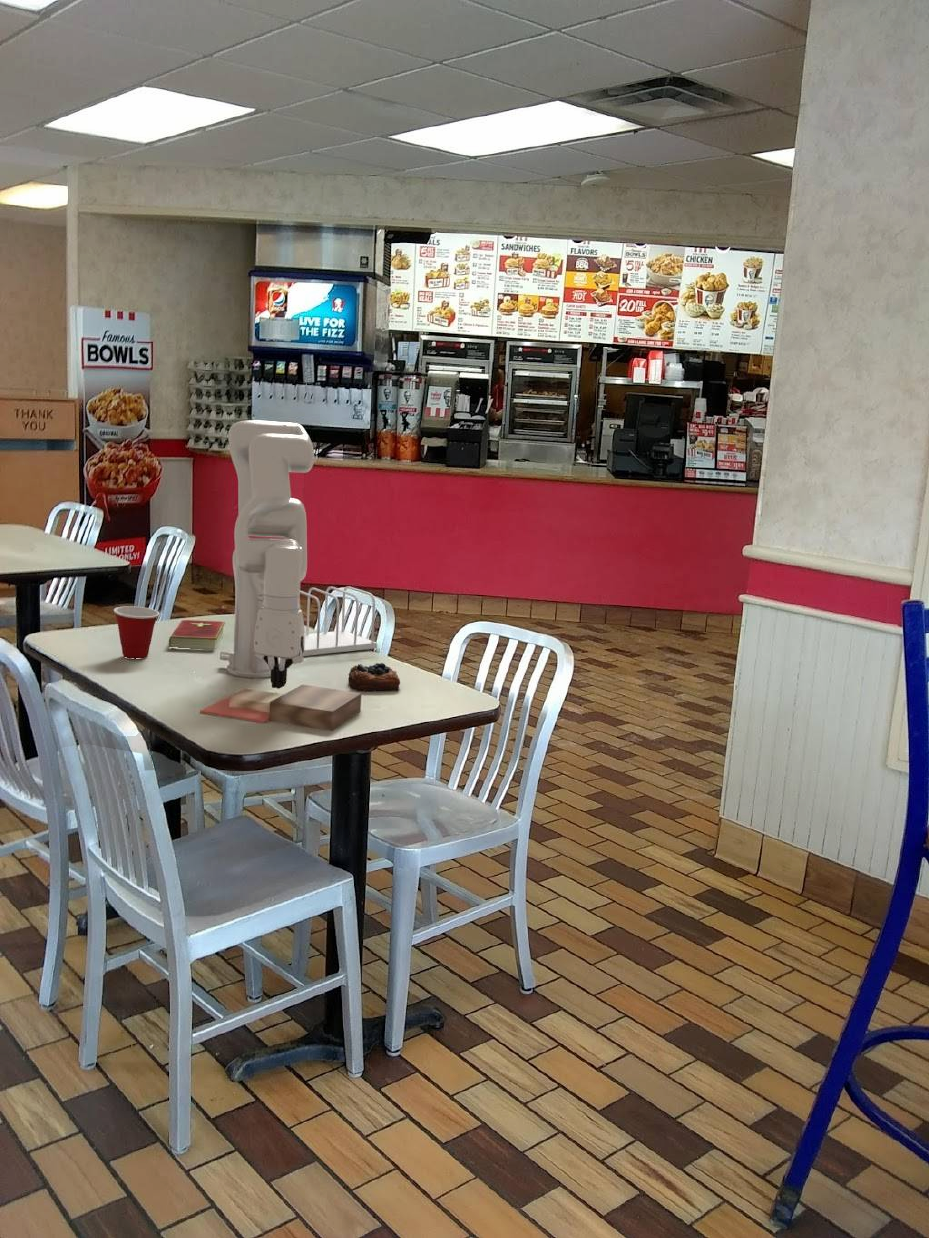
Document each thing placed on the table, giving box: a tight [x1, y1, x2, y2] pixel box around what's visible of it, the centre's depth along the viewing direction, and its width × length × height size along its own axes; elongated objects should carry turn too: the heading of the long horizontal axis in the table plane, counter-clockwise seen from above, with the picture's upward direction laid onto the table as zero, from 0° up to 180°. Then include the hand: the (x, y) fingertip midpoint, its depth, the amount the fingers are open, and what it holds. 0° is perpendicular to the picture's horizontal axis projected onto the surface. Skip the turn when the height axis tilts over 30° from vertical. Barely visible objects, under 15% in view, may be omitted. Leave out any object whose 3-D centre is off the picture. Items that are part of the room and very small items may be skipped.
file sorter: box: [299, 585, 378, 657], centre depth 290 cm, size 25×17×16 cm
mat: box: [199, 688, 269, 723], centre depth 231 cm, size 15×20×1 cm
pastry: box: [348, 662, 401, 693], centre depth 254 cm, size 11×12×6 cm
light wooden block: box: [229, 688, 285, 712], centre depth 230 cm, size 11×8×2 cm
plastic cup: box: [113, 605, 160, 659], centre depth 264 cm, size 11×11×12 cm
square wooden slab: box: [268, 684, 362, 731], centre depth 227 cm, size 14×16×4 cm
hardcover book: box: [168, 619, 226, 651], centre depth 287 cm, size 12×21×4 cm, turn 6°
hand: (278, 686), depth 229 cm, fingers closed
